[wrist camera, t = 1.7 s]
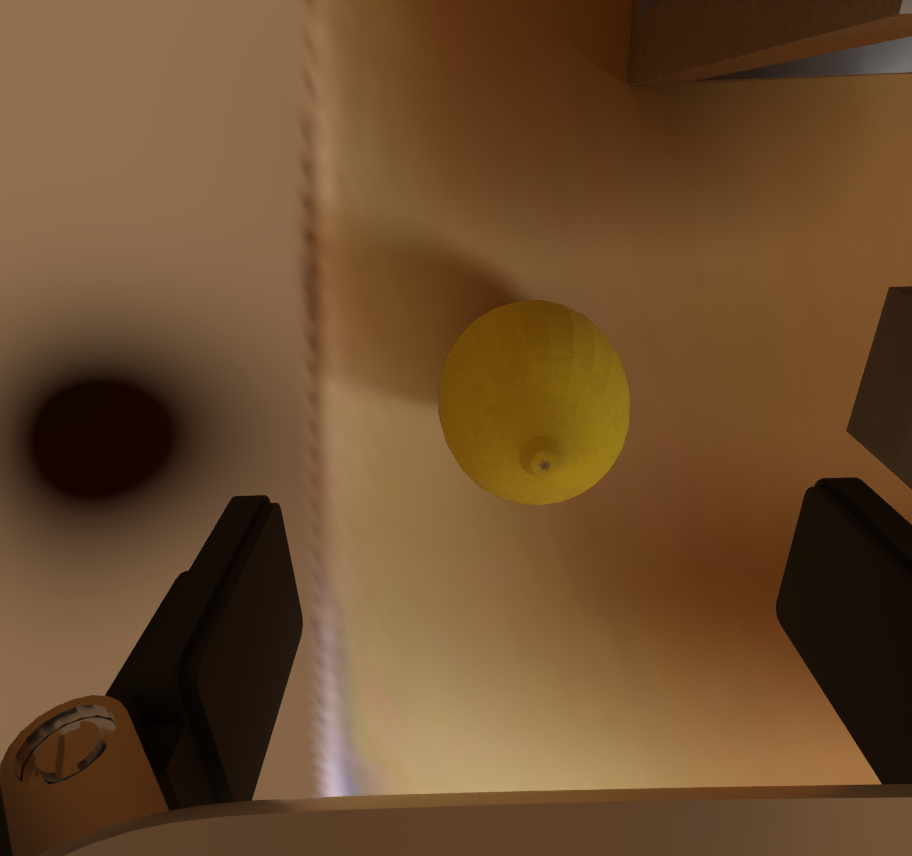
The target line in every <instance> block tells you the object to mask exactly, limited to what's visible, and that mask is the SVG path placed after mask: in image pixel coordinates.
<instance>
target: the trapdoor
mask: <svg viewBox="0 0 912 856" xmlns="http://www.w3.org/2000/svg"><path fill="white" fill-rule="evenodd" d="M846 431H847V432H848V433H849V434H850V435H851V436H853V437H854V438H855V439H856V440H857V441H858V442H859V443H860V444H862V445H863V446H864V447H865V448H866V449H867V450H868V451H869V452H871V453H872V454H873V455H874V456H875V457H876V458H877V459H878V460H880V461H881V462H882V463H883V464H884V465H885V466H886V467H887V468H889V469H890V470H891V471H892V472H893V473H894V474H895V475H896V476H898V477H899V478H900V479H901V480H902V481H903V482H904V483H905V484H907V485H908V486H909V487H910V488H911V489H912V286H910V287H889V290H888V293H887V296H886V300H885V303H884V306H883V310H882V313H881V316H880V320H879V323H878V326H877V330H876V333H875V337H874V340H873V343H872V347H871V350H870V353H869V357H868V360H867V363H866V367H865V370H864V373H863V377H862V380H861V383H860V387H859V390H858V393H857V397H856V400H855V404H854V407H853V410H852V414H851V417H850V420H849V424H848V427H847V430H846Z"/></svg>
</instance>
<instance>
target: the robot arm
mask: <svg viewBox="0 0 912 856" xmlns="http://www.w3.org/2000/svg"><path fill="white" fill-rule="evenodd" d="M776 612H777V617H778V620H779V622H780V624H781V626H782V627H783V629H784V631H785V632H786V634H787V635H788V637H789V638H790V640H791V642H792V643H793V645H794V646H795V648H796V649H797V651H798V653H799V654H800V656H801V657H802V659H803V660H804V662H805V664H806V665H807V667H808V668H809V670H810V671H811V673H812V675H813V676H814V678H815V679H816V681H817V682H818V684H819V686H820V687H821V689H822V690H823V692H824V693H825V695H826V697H827V698H828V700H829V701H830V703H831V704H832V706H833V708H834V709H835V711H836V712H837V714H838V715H839V717H840V719H841V720H842V722H843V723H844V725H845V726H846V728H847V730H848V731H849V733H850V734H851V736H852V737H853V739H854V741H855V742H856V744H857V745H858V747H859V748H860V750H861V752H862V753H863V755H864V756H865V758H866V759H867V761H868V763H869V764H870V766H871V767H872V769H873V770H874V772H875V774H876V775H877V777H878V778H879V780H880V781H881V783H882V785H816V786H751V787H699V788H649V789H602V790H556V791H515V792H477V793H440V794H402V795H365V796H342V797H319V798H298V799H274V800H254V801H252V798H253V795H254V791H255V788H256V785H257V781H258V778H259V775H260V771H261V768H262V764H263V761H264V758H265V755H266V751H267V748H268V745H269V741H270V738H271V735H272V731H273V728H274V725H275V721H276V718H277V714H278V711H279V708H280V705H281V701H282V698H283V695H284V692H285V688H286V685H287V681H288V678H289V675H290V672H291V668H292V665H293V661H294V658H295V655H296V651H297V648H298V644H299V641H300V638H301V634H302V625H303V619H302V612H301V607H300V602H299V597H298V592H297V587H296V582H295V577H294V572H293V567H292V562H291V557H290V552H289V547H288V542H287V537H286V532H285V527H284V522H283V517H282V512H281V508H280V505H279V504H278V503H271V502H270V500H269V498H268V497H267V496H266V495H257V496H235V497H233V498H232V499H231V500H230V502H229V504H228V505H227V507H226V509H225V510H224V512H223V514H222V515H221V517H220V519H219V521H218V522H217V524H216V525H215V528H214V529H213V531H212V532H211V534H210V536H209V537H208V539H207V541H206V542H205V544H204V546H203V547H202V550H201V551H200V553H199V554H198V556H197V558H196V559H195V561H194V563H193V564H192V566H191V568H190V569H189V571H185V572H183V573H181V574H180V575H179V576H178V577H177V579H176V580H175V581H174V583H173V585H172V587H171V588H170V590H169V591H168V593H167V595H166V596H165V598H164V600H163V601H162V603H161V605H160V606H159V608H158V609H157V611H156V613H155V614H154V616H153V618H152V619H151V621H150V622H149V624H148V626H147V627H146V629H145V631H144V632H143V634H142V636H141V637H140V639H139V641H138V642H137V644H136V646H135V647H134V649H133V650H132V652H131V654H130V655H129V657H128V659H127V660H126V662H125V664H124V665H123V667H122V668H121V670H120V672H119V673H118V675H117V677H116V679H115V680H114V682H113V684H112V685H111V686H110V688H109V690H108V691H107V693H106V695H105V696H96V695H91V696H86V697H81V698H77V699H73V700H70V701H68V702H65V703H63V704H61V705H58V706H56V707H54V708H52V709H51V710H49V711H47V712H46V713H44V714H43V715H41V716H39V717H38V718H36V719H35V720H34V721H33V722H32V723H31V724H29V725H28V726H27V727H26V728H25V729H24V730H22V731H21V732H20V733H19V735H18V736H17V737H16V739H15V740H14V741H13V742H12V743H11V745H10V746H9V747H8V749H7V751H6V753H5V755H4V758H3V760H2V762H1V764H0V856H912V525H911V524H910V523H909V522H908V521H906V520H905V519H904V518H903V517H902V516H901V515H900V514H899V513H898V512H896V511H895V510H894V509H893V508H892V507H891V506H890V505H889V504H888V503H886V502H885V501H884V500H883V499H882V498H881V497H880V496H879V495H878V494H876V493H875V492H874V491H873V490H872V489H871V488H870V487H869V486H868V485H866V484H865V483H864V482H863V481H862V480H860V479H858V478H822V479H820V480H818V481H817V483H816V484H815V486H814V487H810V488H808V489H807V491H806V493H805V495H804V499H803V503H802V507H801V511H800V515H799V518H798V522H797V526H796V530H795V534H794V537H793V541H792V545H791V549H790V553H789V557H788V560H787V564H786V568H785V572H784V576H783V580H782V583H781V587H780V591H779V595H778V599H777V603H776Z"/></svg>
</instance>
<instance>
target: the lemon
mask: <svg viewBox="0 0 912 856" xmlns="http://www.w3.org/2000/svg"><path fill="white" fill-rule="evenodd" d="M438 392H439V418H440V421H441V425H442V429H443V432H444V436H445V439H446V442H447V445H448V447H449V449H450V450H451V452H452V454H453V455H454V457H455V459H456V460H457V462H458V464H459V465H460V467H461V468H462V470H463V471H464V472H465V473H466V474H467V475H468V476H469V477H470V478H471V479H472V480H474V481H475V482H476V483H477V484H478V485H479V486H480V487H481V488H483V489H485V490H486V491H488V492H490V493H492V494H493V495H495V496H497V497H499V498H502V499H505V500H509V501H512V502H515V503H518V504H529V505H545V504H552V503H559V502H562V501H564V500H567V499H570V498H573V497H576V496H578V495H579V494H581V493H582V492H584V491H586V490H587V489H589V488H590V487H592V486H593V485H595V484H596V483H597V482H598V481H599V480H600V479H601V478H602V477H603V476H604V475H605V474H606V473H607V472H608V471H609V470H610V468H611V467H612V465H613V464H614V462H615V460H616V459H617V457H618V455H619V454H620V452H621V450H622V448H623V445H624V441H625V438H626V434H627V431H628V428H629V422H630V390H629V386H628V382H627V378H626V375H625V371H624V367H623V364H622V361H621V359H620V357H619V355H618V354H617V352H616V350H615V349H614V347H613V346H612V344H611V342H610V341H609V339H608V338H607V336H606V335H605V334H604V333H603V332H602V331H601V330H600V329H599V328H597V327H596V326H595V325H594V324H593V323H592V322H591V321H590V320H589V319H587V318H586V317H585V316H583V315H581V314H579V313H577V312H575V311H573V310H571V309H569V308H567V307H566V306H563V305H560V304H556V303H551V302H546V301H541V300H534V301H516V302H513V303H510V304H506V305H503V306H499V307H496V308H494V309H492V310H490V311H489V312H487V313H485V314H484V315H482V316H480V317H479V318H477V319H475V320H474V321H473V322H472V323H471V324H470V325H469V326H468V327H467V328H466V329H465V330H464V331H463V332H462V333H461V334H460V336H459V337H458V338H457V340H456V342H455V343H454V345H453V347H452V348H451V350H450V352H449V353H448V355H447V357H446V359H445V363H444V366H443V370H442V373H441V377H440V381H439V388H438Z"/></svg>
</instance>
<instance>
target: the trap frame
mask: <svg viewBox="0 0 912 856" xmlns="http://www.w3.org/2000/svg"><path fill="white" fill-rule="evenodd" d="M911 73H912V0H634V6H633V20H632V33H631V46H630V59H629V73H628V86H632V85H655V84H678V83H701V82H725V81H748V80H771V79H794V78H818V77H841V76H864V75H887V74H911Z"/></svg>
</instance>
